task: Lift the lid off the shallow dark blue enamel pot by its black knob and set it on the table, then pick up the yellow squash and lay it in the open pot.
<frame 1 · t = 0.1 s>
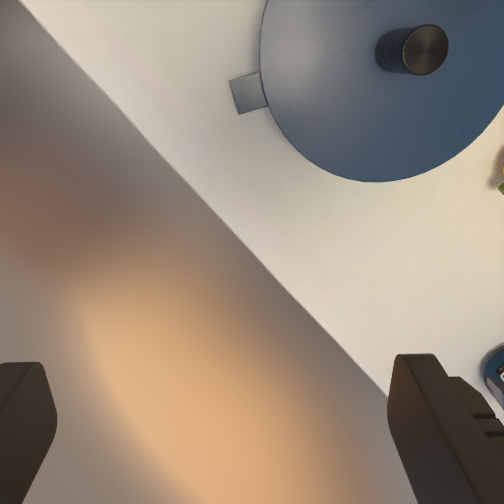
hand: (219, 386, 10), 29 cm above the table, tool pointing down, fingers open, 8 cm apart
pot lid: (391, 51, 29), point 5 cm above the table, touching pot
pot: (371, 51, 33), on the table
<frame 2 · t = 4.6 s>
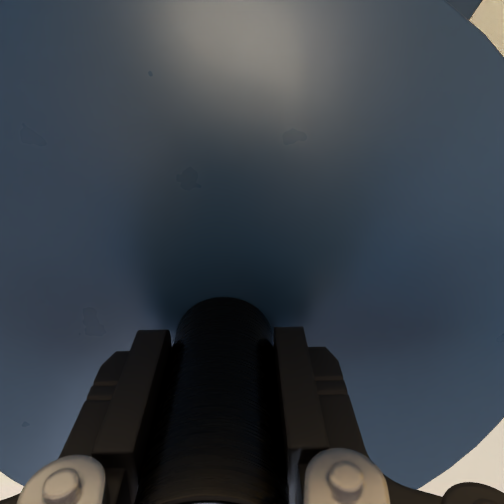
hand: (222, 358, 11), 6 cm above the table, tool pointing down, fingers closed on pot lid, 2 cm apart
pot lid: (225, 325, 12), point 5 cm above the table, touching gripper, pot
pot: (230, 250, 16), on the table
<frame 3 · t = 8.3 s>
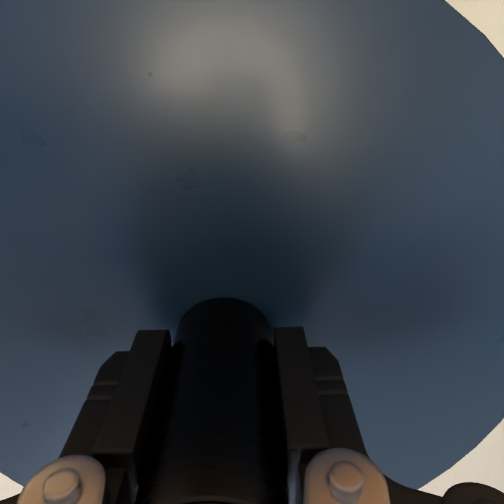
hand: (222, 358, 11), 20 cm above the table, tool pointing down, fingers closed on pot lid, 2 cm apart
pot lid: (225, 326, 12), point 19 cm above the table, touching gripper
when the fingers open (2 cm above the table, at t = 11.9 s): pot lid stays where it is, point 1 cm above the table.
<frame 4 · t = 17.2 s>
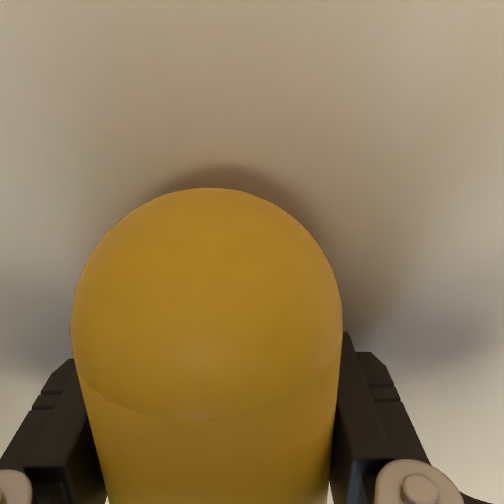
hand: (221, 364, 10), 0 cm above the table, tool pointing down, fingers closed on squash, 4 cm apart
squash: (223, 355, 11), on the table, touching gripper
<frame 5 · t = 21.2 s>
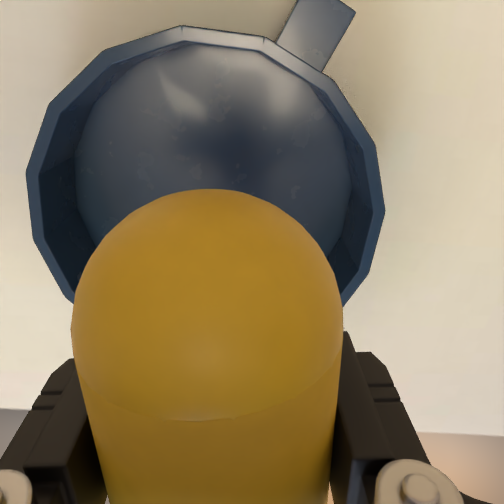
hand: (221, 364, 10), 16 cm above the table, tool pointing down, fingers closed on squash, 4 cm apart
pot: (214, 195, 25), on the table
squash: (223, 355, 11), point 16 cm above the table, touching gripper
when the fingers open (1 cm above the table, at t = 25.1 s): squash stays where it is, resting on pot.
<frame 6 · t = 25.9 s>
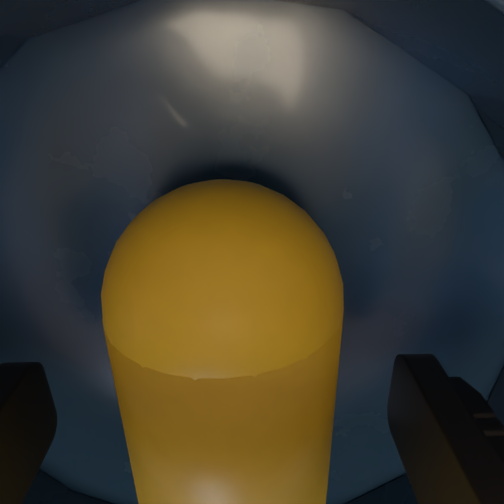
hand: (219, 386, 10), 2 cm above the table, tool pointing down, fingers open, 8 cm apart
pot: (226, 325, 12), on the table
squash: (228, 338, 11), point 1 cm above the table, touching pot
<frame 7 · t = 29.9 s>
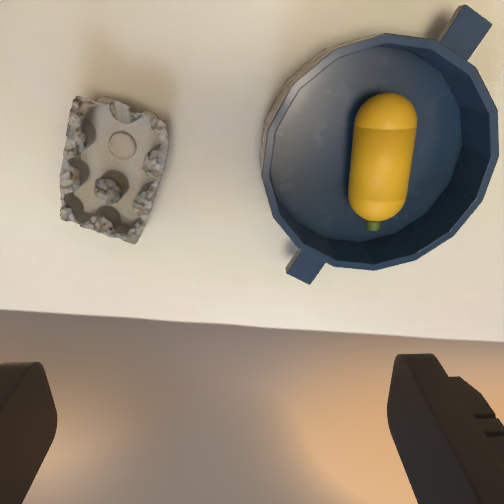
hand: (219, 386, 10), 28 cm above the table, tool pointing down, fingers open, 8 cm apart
pot: (362, 152, 35), on the table
squash: (365, 154, 35), point 1 cm above the table, tilted 16°, touching pot
egg carton: (122, 164, 36), on the table
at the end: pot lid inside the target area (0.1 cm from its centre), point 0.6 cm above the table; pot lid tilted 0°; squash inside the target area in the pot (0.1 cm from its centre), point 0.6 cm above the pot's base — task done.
